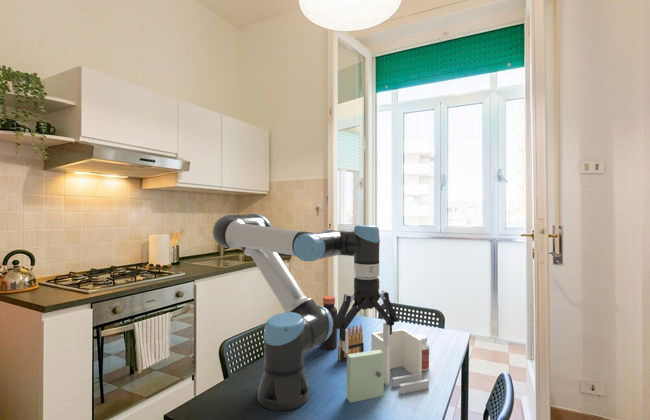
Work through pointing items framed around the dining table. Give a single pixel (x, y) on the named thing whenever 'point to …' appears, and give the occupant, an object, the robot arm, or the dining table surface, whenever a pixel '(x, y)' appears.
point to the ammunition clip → (352, 343)
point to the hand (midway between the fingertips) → (366, 348)
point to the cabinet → (402, 359)
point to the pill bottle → (424, 352)
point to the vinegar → (332, 340)
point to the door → (365, 375)
